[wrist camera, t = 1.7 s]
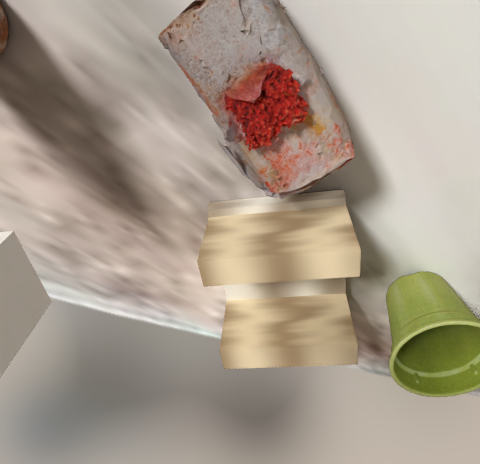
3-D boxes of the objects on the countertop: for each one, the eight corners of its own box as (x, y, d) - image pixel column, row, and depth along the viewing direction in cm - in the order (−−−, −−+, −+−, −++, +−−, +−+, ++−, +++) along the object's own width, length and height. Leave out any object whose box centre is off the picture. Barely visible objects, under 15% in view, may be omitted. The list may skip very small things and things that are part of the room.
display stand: (343, 189, 34) (360, 240, 27) (343, 306, 42) (357, 369, 35) (209, 202, 36) (195, 253, 29) (232, 312, 43) (225, 374, 36)
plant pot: (352, 312, 42) (370, 382, 35) (397, 245, 37) (428, 310, 30) (431, 334, 43) (463, 407, 36) (484, 271, 38) (535, 340, 31)
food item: (353, 120, 31) (383, 170, 23) (270, 173, 34) (270, 235, 26) (253, -49, 26) (244, -63, 17) (164, 32, 28) (120, 53, 20)
